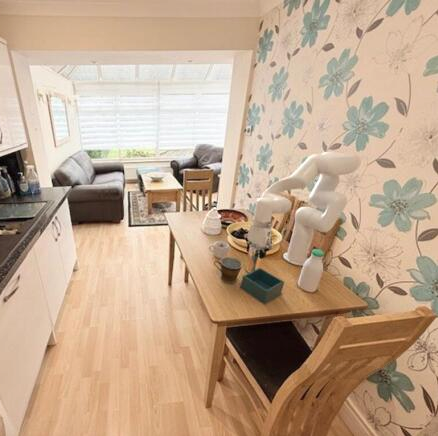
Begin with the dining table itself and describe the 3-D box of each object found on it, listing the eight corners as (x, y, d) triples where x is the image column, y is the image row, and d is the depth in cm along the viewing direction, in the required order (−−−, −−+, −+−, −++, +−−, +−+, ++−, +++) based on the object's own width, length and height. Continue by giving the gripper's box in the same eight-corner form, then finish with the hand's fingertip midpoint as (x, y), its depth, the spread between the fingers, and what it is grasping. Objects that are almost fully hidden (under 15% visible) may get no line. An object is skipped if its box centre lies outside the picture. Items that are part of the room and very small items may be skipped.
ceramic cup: (239, 275, 123) (242, 259, 119) (238, 287, 114) (242, 270, 110) (213, 270, 127) (215, 254, 123) (211, 281, 118) (213, 265, 114)
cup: (207, 257, 138) (208, 245, 135) (209, 250, 145) (210, 239, 142) (226, 261, 134) (228, 249, 131) (227, 254, 141) (229, 242, 138)
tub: (257, 278, 120) (259, 267, 117) (281, 293, 110) (284, 281, 107) (240, 287, 114) (242, 275, 111) (264, 303, 104) (267, 291, 101)
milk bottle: (316, 294, 109) (329, 258, 101) (297, 288, 113) (308, 252, 105) (316, 285, 115) (328, 249, 107) (297, 280, 119) (308, 245, 111)
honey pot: (222, 234, 164) (226, 210, 157) (204, 234, 164) (206, 210, 157) (218, 226, 176) (221, 203, 168) (200, 226, 176) (202, 203, 169)
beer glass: (260, 275, 122) (266, 250, 116) (246, 273, 123) (250, 248, 117) (257, 267, 128) (262, 243, 122) (244, 265, 130) (248, 242, 123)
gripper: (283, 227, 109) (275, 260, 117) (251, 215, 123) (245, 245, 130) (273, 231, 106) (266, 265, 113) (241, 218, 120) (236, 248, 127)
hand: (255, 254), depth 122 cm, fingers closed on beer glass, 7 cm apart
